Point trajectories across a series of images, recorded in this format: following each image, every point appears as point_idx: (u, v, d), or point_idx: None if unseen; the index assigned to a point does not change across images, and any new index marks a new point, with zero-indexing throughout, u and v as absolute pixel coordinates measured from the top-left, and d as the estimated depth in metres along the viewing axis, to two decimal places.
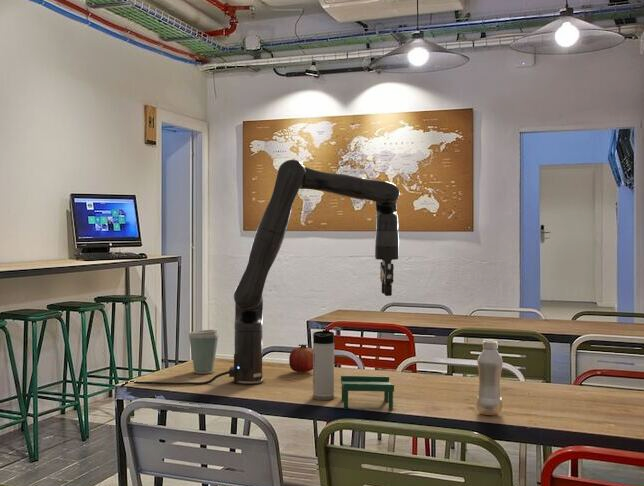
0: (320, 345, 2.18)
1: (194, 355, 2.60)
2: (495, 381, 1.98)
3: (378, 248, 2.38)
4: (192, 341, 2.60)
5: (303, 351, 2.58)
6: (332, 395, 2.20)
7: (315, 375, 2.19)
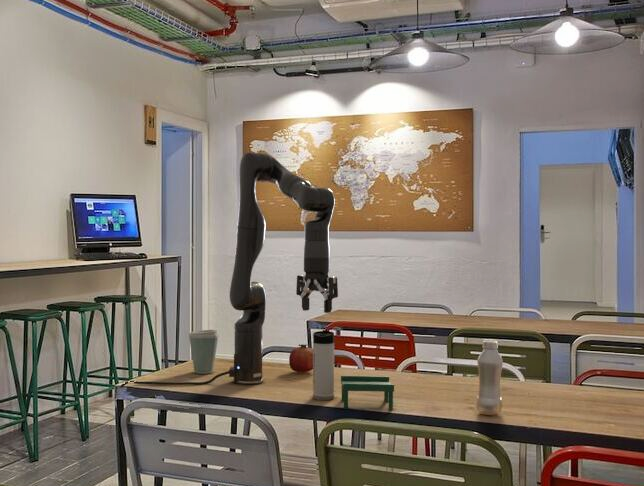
0: (320, 345, 2.18)
1: (194, 355, 2.60)
2: (495, 381, 1.98)
3: (315, 260, 2.12)
4: (192, 341, 2.60)
5: (303, 351, 2.58)
6: (332, 395, 2.20)
7: (315, 375, 2.19)
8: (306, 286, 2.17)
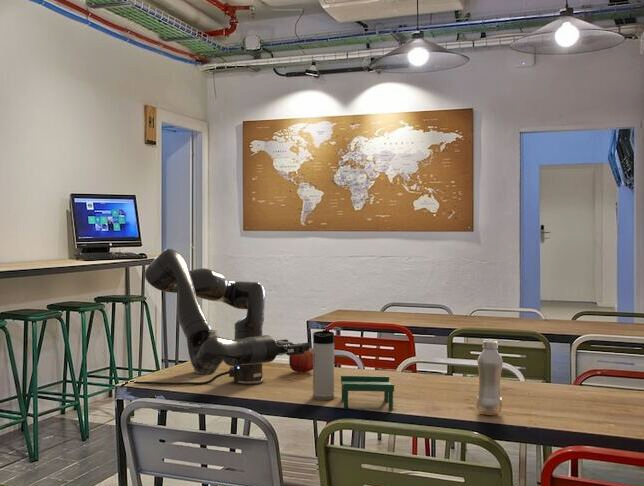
0: (320, 345, 2.18)
1: None
2: (495, 381, 1.98)
3: (265, 361, 2.02)
4: None
5: None
6: (332, 395, 2.20)
7: (315, 375, 2.19)
8: None
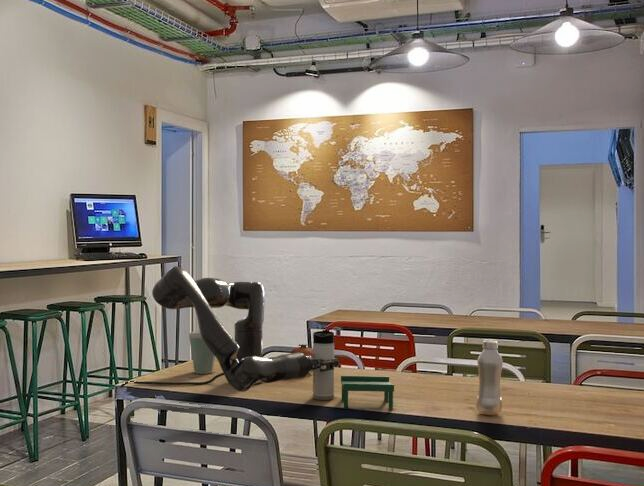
0: (320, 345, 2.18)
1: (194, 355, 2.60)
2: (495, 381, 1.98)
3: (297, 377, 2.11)
4: (192, 341, 2.60)
5: (303, 351, 2.58)
6: (332, 395, 2.20)
7: (315, 374, 2.19)
8: None
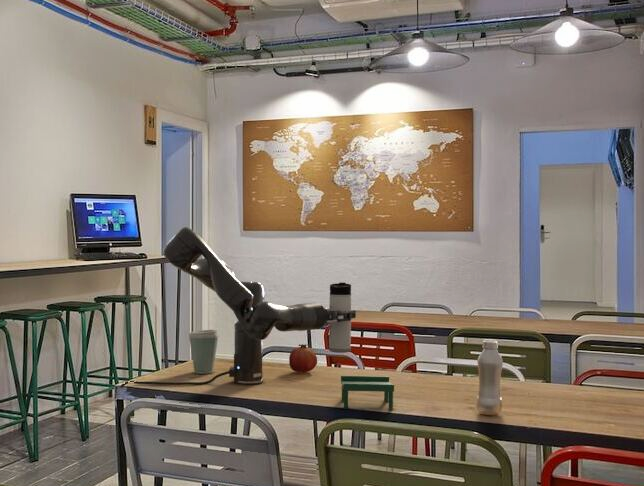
0: (337, 296, 2.14)
1: (194, 355, 2.60)
2: (495, 381, 1.98)
3: (314, 327, 2.07)
4: (192, 341, 2.60)
5: (303, 351, 2.58)
6: (349, 348, 2.15)
7: (332, 327, 2.15)
8: None
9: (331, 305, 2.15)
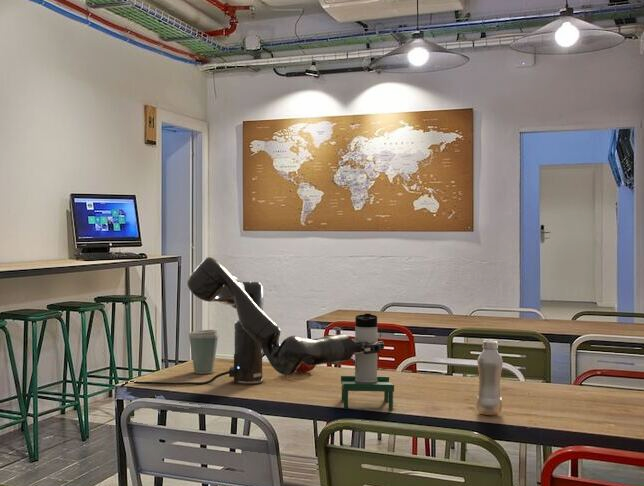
0: (363, 329, 2.09)
1: (194, 355, 2.60)
2: (495, 381, 1.98)
3: (342, 360, 2.02)
4: (192, 341, 2.60)
5: None
6: (375, 381, 2.10)
7: (358, 360, 2.10)
8: None
9: (357, 337, 2.10)
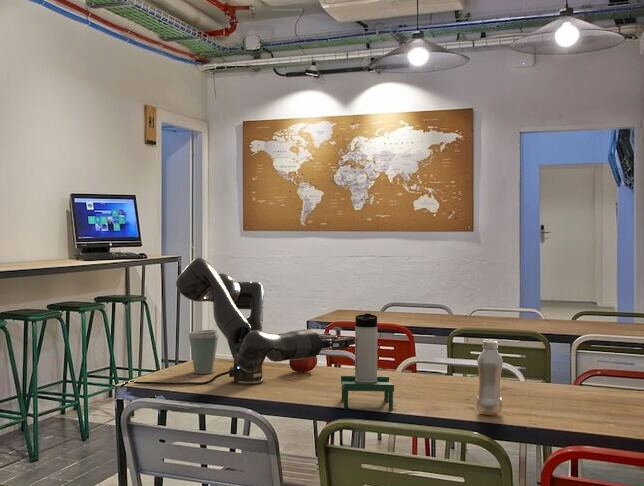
0: (363, 329, 2.09)
1: (194, 355, 2.60)
2: (495, 381, 1.98)
3: (309, 356, 1.94)
4: (192, 341, 2.60)
5: None
6: (375, 381, 2.10)
7: (358, 359, 2.10)
8: None
9: (357, 337, 2.10)
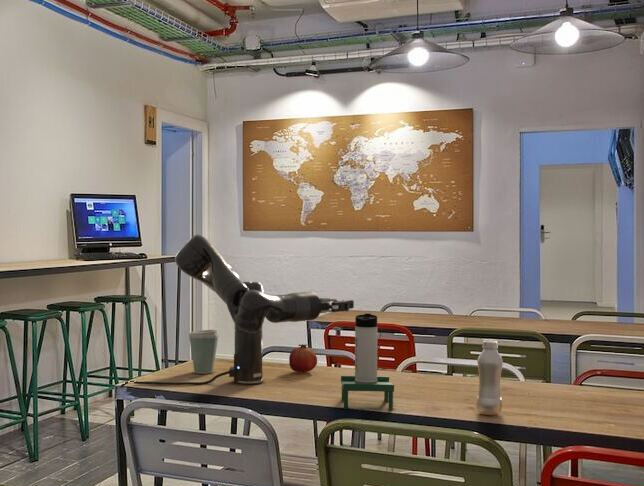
0: (363, 329, 2.09)
1: (194, 355, 2.60)
2: (495, 381, 1.98)
3: (308, 318, 1.93)
4: (192, 341, 2.60)
5: (303, 351, 2.58)
6: (375, 381, 2.10)
7: (358, 359, 2.10)
8: None
9: (357, 337, 2.10)
